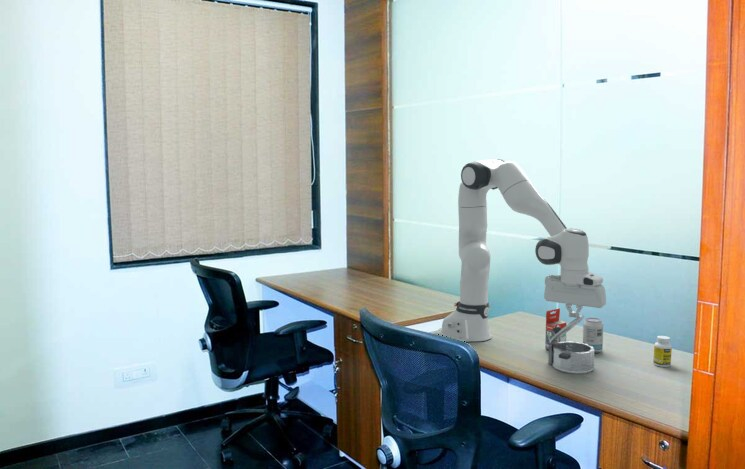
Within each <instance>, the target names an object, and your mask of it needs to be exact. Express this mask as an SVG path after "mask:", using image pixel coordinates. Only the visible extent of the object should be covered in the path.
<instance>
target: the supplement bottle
mask: <svg viewBox="0 0 745 469" xmlns="http://www.w3.org/2000/svg"><path fill="white" fill-rule="evenodd" d="M672 349H673V345H672V344H671V337H669V336H667V335H657V337H656V341H655V343H654V347H653V362H652V363H653V364H654V366H657V367H662V368H669V367H671V365H672V351H673V350H672Z"/></svg>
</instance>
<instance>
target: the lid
mask: <svg viewBox="0 0 745 469" xmlns="http://www.w3.org/2000/svg"><path fill="white" fill-rule="evenodd" d="M584 318H585V315H584V314H581V315H579V317H578V318H574V319H573V320H571V322H569V323H567V324H566V326H565V327H564V328H563V329H561V328H560V326H559V325H557V326H556V327H555V328H553V329H552V331H553V332H554V333H555V335H554V336H553V337H552V338H551V339H550V340H549V345H552V344H553V343H555V342H556V340H557V339H558V338H560V337H561V336H563V335H564V334H565V333H566V334H567V333H568V332H569V331H570V330H572V329H573V328H574V327H575V326H577V325H578V324H579V323H581V321H583V319H584Z"/></svg>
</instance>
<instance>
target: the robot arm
mask: <svg viewBox="0 0 745 469" xmlns="http://www.w3.org/2000/svg"><path fill="white" fill-rule="evenodd" d="M460 171H461V172H460V179H461V182H460V184H459V187H458V188H459V189H458V198H457V200H458V201H457V205H458V206H457V208H458V209H457V210H458V257H459V258H460V259H459V260H460V261H461V265H460V266H461V268H460V270H461V271H460V281H459V301H457V302H456V303H454V304H453V307H454V308H455V307H456V308H455V310H453V311H452V312H451V313H449V314H448V315H447V316H445V317H444V318H443V320H442V325H441V328H438V329H437V330H436V335H437V334H439V335H438V336H440V335H443V336H442V337H444V336H447V337H451V338H455V339H459V340H462V341H465V342H464V343H466V342H483V341H484V342H485V341H487V340H488V341H489V340H490V339H492V333H491V329H490V322H489V316H490V315H489V313H490V303H489V299H488V298H489V279H490V268H491V253H490V250H489V249H488V247H487V232H488V231H487V229H488V205H487V204H488V203H487V193H488V191H489V190H493V191H494V190H497V189H498V190H499V191H500V194H501V196H502V198H503V200H504V202H505V203H506V204H507V206H508V207H509V208H510V209H511V210H512V211H513V212H516V213H518V214H523V215H526V216H529V217H532V218H534V219H536V220H537V221H538V222H539V223H540V224H541V225H542V226H543V228H544V229H545V231H546V232H547V233H548V234H549V236H548V237H544V238H542V239H540V240H538V242H537V243H536V245H535V250H534V251H535V257H536V258H537V260H538V261H539V263H541V264H543V265H547V266H553V265H559V266H560V275H557V274H556V275H555V274H548V275H547V276H546V277H545V278H544V285H545V287H544V294H543V296H544V300H545V301H546V302H551V303H558V304H564V305H565V309H566V310H567V312H568V317H569V318H573V319H576V318H578V317H579V316H580V312H581V311H582V310H583V307H588V308H595V309H601V308H603V307H604V306H605V305H607V304H606V302H607V296H606V295H607V294H606V289H605V287H604V285H603V283H604V278H603V276H601V275H598V274H596V273H593V272H591V271H589V265H588V260H589V255H590V254H589V251H590V248H589V239H588V235H587V233H586V232H585V231H584V230H583V229H582V230H581V229H578V228H573V227H571V228H570V227H569V228H567V227H566V224H564V222H563V221H562V220H561V218H560V217H559V216H558V214H557V213H556V211H555V210H554V209H553V207H552V206H551V205H550V204H549V203H548V202H547V201H546V199H544V198H543V197H542V195H540V193H539V192H538V190H537V189H536V188H535V187H534V185H533V184H532V182H531V180H530V179H529V177H528V176H527V174H526V173H525V171H524V170H523V169H522V168H521V167H520V166H519V164H518V163H517V162H516V161H512V160H507V161H506V160H504V159H499V158H498V159H494V158H493V159H491V158H490V159H483V160H477V161H471V162H468V163H467V164H465V165H464V166H462V169H461V170H460ZM572 306H575V307H576V311H574V310H573V309H572ZM447 337H446V338H447Z"/></svg>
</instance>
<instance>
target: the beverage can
mask: <svg viewBox="0 0 745 469" xmlns="http://www.w3.org/2000/svg"><path fill="white" fill-rule="evenodd" d="M582 326H583V328H582V343H585V344H588V345H590V346H593V348H594V354H599V353H600V352H602V351H603V348H604V346H603V342H604V323H603V321H602V318H597V317H587V318H585V320H584V322H583V325H582Z"/></svg>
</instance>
